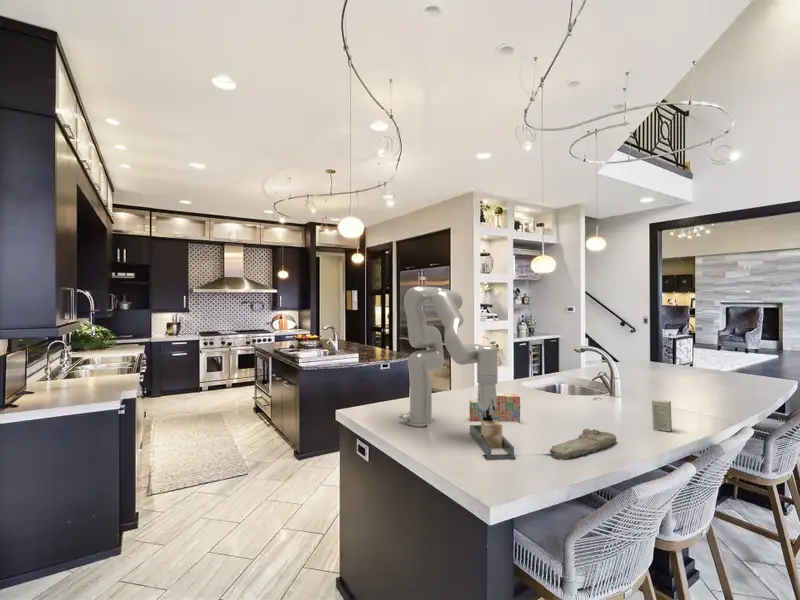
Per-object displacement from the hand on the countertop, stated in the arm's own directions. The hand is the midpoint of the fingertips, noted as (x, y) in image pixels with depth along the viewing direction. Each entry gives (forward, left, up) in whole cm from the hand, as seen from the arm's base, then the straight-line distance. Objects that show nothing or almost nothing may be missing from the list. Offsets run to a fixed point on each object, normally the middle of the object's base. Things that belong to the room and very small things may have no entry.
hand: (487, 427), depth 154 cm
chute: (0, -3, -6) cm, 7 cm away
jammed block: (0, -5, -5) cm, 7 cm away
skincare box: (+77, +12, -6) cm, 78 cm away
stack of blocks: (+11, +28, -6) cm, 30 cm away
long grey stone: (+33, -8, -6) cm, 35 cm away
